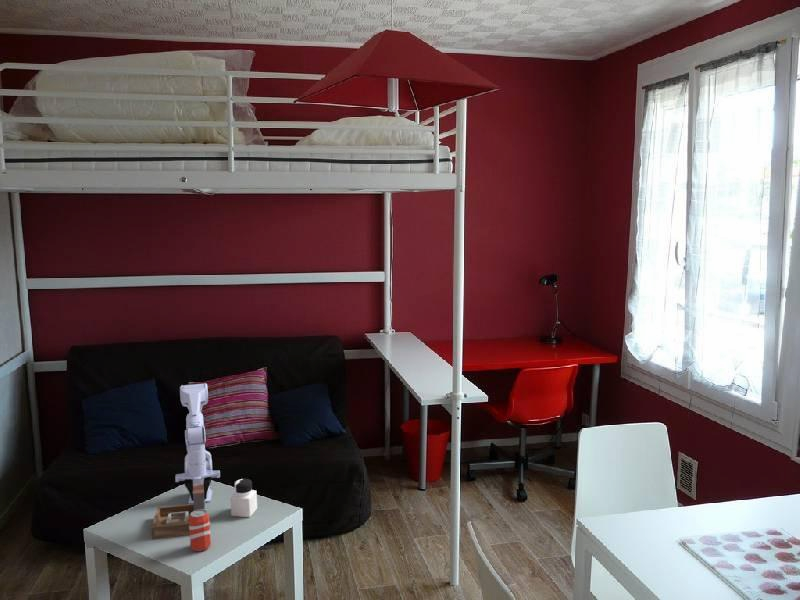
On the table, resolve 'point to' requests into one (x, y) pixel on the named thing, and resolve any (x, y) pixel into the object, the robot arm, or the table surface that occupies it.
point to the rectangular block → (198, 497)
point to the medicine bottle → (243, 499)
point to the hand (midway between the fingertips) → (199, 498)
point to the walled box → (171, 521)
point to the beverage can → (199, 530)
